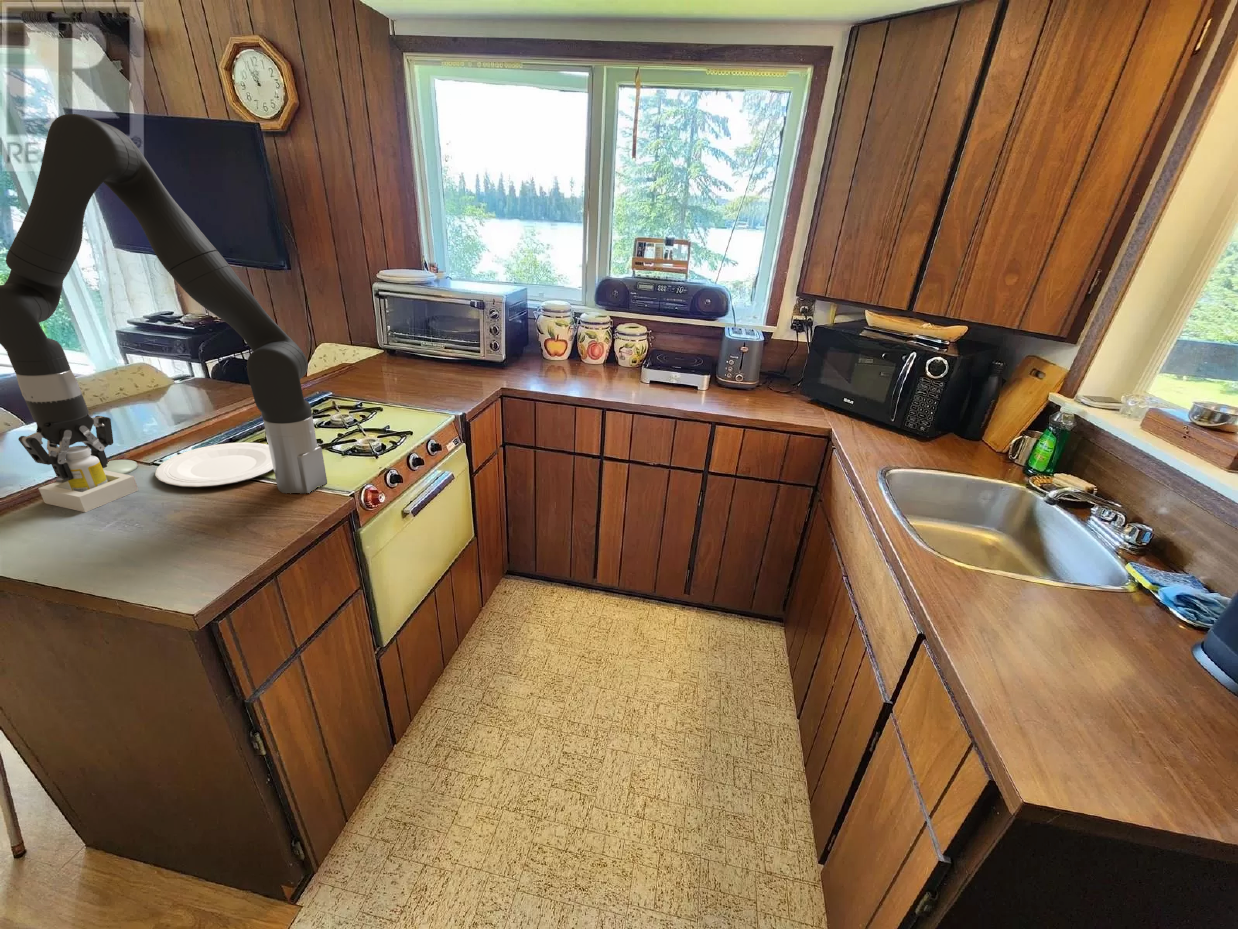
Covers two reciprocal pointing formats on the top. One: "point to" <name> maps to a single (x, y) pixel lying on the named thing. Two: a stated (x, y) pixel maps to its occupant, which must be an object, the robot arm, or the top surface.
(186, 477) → the plate
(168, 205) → the robot arm
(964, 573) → the top surface
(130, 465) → the coaster
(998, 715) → the top surface
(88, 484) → the supplement bottle
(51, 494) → the shallow beige tray
